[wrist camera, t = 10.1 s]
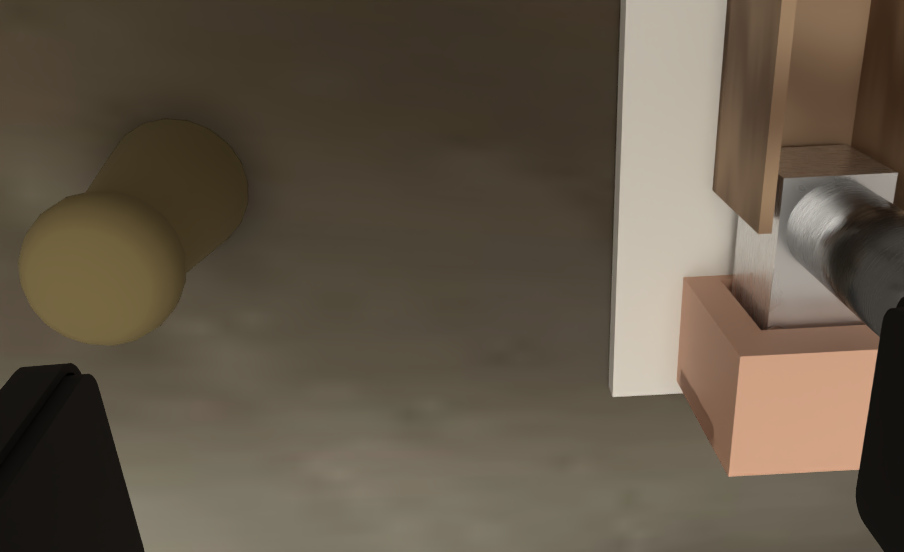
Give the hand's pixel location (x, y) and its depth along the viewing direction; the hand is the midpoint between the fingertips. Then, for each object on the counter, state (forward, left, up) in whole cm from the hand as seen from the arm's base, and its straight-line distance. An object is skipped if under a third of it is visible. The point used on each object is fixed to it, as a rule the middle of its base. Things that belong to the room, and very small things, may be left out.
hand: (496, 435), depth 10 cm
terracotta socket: (+12, +14, -26) cm, 32 cm away
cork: (+5, -12, -28) cm, 30 cm away
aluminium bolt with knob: (+9, +14, -25) cm, 30 cm away
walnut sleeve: (+1, +14, -26) cm, 30 cm away
